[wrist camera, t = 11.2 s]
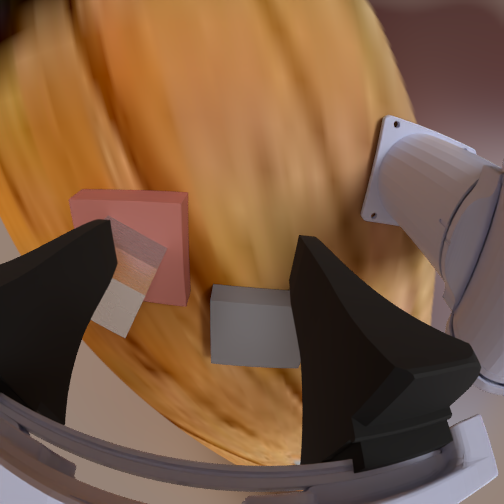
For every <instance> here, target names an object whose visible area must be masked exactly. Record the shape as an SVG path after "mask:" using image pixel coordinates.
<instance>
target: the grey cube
mask: <svg viewBox="0 0 504 504" xmlns="http://www.w3.org/2000/svg"><path fill="white" fill-rule="evenodd" d="M104 220H110V222H111V229H112V235H113V240H114V246H115V251H116V256H117V261H118V264H117V267H116V270H115V272H114V275H113V277H112V280H111V282H110V284H109V286H108V288H107V290H106V292H105V294H104V295H103V297H102V299H101V301H100V303H99V305H98V306H97V308H96V310H95V312H94V314H93V316H92V318H91V320H92V321H94V322H96V323H97V324H99V325H101V326H103V327H105V328H107V329H108V330H110V331H112V332H114V333H116V334H118V335H120V336H122V337H124V338H126V336H127V334H128V331H129V329H130V327H131V325H132V323H133V321H134V319H135V316H136V314H137V312H138V310H139V308H140V306H141V304H142V302H143V300H144V298H145V296H146V293H147V291H148V289H149V287H150V284H151V282H152V280H153V278H154V276H155V274H156V271H157V269H158V267H159V265H160V263H161V261H162V259H163V257H164V254H165V252H166V250H167V248H166V247H164V246H162V245H160V244H159V243H157V242H155V241H153V240H151V239H150V238H148V237H146V236H144V235H142V234H140V233H139V232H137V231H135V230H133V229H132V228H130V227H128V226H126V225H124V224H123V223H121V222H119V221H117V220H116V219H114V218H112V217H110V216H109V215H108V216H107V217H106V218H105V219H104Z"/></svg>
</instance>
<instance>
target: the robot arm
mask: <svg viewBox="0 0 504 504" xmlns="http://www.w3.org/2000/svg"><path fill="white" fill-rule="evenodd" d="M395 121H397V123H398V125H397V127H394V122H395ZM373 213H375V216H373V217H371V215H372V214H373ZM361 217H362V218H363V219H364V220H365V221H370V222H377V223H383V224H390V225H396V226H400V227H401V228H402V229H403V230H404V231H405V232H406V234H407V235H408V236H409V237H410V238H411V239H412V241H413V242H414V243H415V244H416V246H417V247H418V248H419V249H420V250H421V252H422V253H423V254H424V255H425V257H426V258H427V259H428V260H429V262H430V263H431V264H432V266H433V267H434V268H435V270H436V271H437V272H438V274H439V275H440V276H441V278H442V279H443V280H444V282H445V291H444V294H443V298H444V300H445V301H446V303H447V305H448V306H449V308H450V309H451V311H452V313H451V315H450V317H449V319H448V321H447V324H446V331H445V333H443V332H441V331H439V330H437V329H435V328H433V327H431V326H429V325H427V324H426V323H424V322H422V321H420V320H418V319H417V318H415V317H413V316H411V315H410V314H408V313H407V312H405V311H403V310H402V309H400V308H399V307H397V306H395V305H394V304H393V303H391V302H390V301H388V300H387V299H385V298H384V297H383V296H381V295H380V294H379V293H377V292H376V291H375V290H373V289H372V288H371V287H370V286H368V285H367V284H366V283H365V282H364V281H362V280H361V279H360V278H359V277H358V276H357V275H356V274H354V273H353V272H352V271H351V270H350V269H349V268H348V267H347V266H346V265H345V264H344V263H343V262H341V261H340V260H339V259H338V258H337V257H336V256H335V255H334V254H333V253H332V252H331V251H330V250H329V249H328V248H327V247H326V246H325V245H324V244H323V243H322V242H321V241H320V240H319V239H317V238H316V237H312V236H302V235H299V238H298V243H297V247H296V252H295V257H294V261H293V266H292V270H291V275H290V279H289V284H290V302H291V308H292V313H293V319H294V324H295V330H296V335H297V340H298V346H299V351H300V359H301V373H302V403H303V417H302V448H301V463H300V465H289V466H243V465H226V464H213V463H204V462H197V461H190V460H183V459H176V458H171V457H166V456H161V455H156V454H151V453H147V452H142V451H139V450H135V449H131V448H127V447H124V446H120V445H117V444H113V443H110V442H107V441H104V440H101V439H98V438H95V437H92V436H89V435H87V434H84V433H81V432H79V431H76V430H74V429H71V428H69V427H66V426H64V425H65V416H66V415H65V414H66V405H67V396H68V390H69V385H70V379H71V374H72V370H73V366H74V362H75V359H76V355H77V352H78V349H79V346H80V343H81V340H82V337H83V334H84V332H85V330H86V328H87V325H88V323H89V322H90V320H91V318H92V316H93V314H94V312H95V310H96V308H97V306H98V305H99V303H100V301H101V299H102V297H103V295H104V294H105V292H106V290H107V288H108V286H109V284H110V282H111V280H112V277H113V275H114V272H115V270H116V267H117V264H118V261H117V256H116V251H115V246H114V240H113V235H112V229H111V222H110V220H104V219H96V220H93V221H90V222H88V223H86V224H83V225H81V226H79V227H77V228H75V229H73V230H71V231H69V232H67V233H65V234H63V235H62V236H60V237H58V238H56V239H54V240H52V241H50V242H48V243H46V244H44V245H42V246H40V247H39V248H37V249H35V250H33V251H31V252H29V253H26V254H24V255H22V256H20V257H18V258H16V259H13V260H11V261H9V262H6V263H3V264H0V504H147V503H143V502H139V501H136V500H132V499H128V498H125V497H122V496H119V495H115V494H113V493H110V492H107V491H104V490H101V489H99V488H96V487H93V486H91V485H88V484H86V483H83V482H81V481H79V480H77V479H75V477H74V474H75V470H76V465H75V464H74V463H72V462H70V461H68V460H66V459H65V458H63V457H61V456H59V455H58V454H56V453H54V452H53V451H51V450H50V449H48V448H47V447H46V446H44V445H43V444H42V443H40V442H38V441H37V440H35V439H33V438H32V437H30V434H29V432H30V433H32V434H34V435H35V436H37V437H39V438H41V439H43V440H45V441H47V442H49V443H51V444H53V445H55V446H57V447H59V448H61V449H63V450H65V451H68V452H70V453H72V454H75V455H77V456H79V457H82V458H84V459H87V460H90V461H92V462H95V463H97V464H100V465H103V466H106V467H109V468H113V469H115V470H119V471H122V472H125V473H129V474H132V475H136V476H140V477H144V478H148V479H152V480H156V481H162V482H166V483H171V484H177V485H183V486H190V487H196V488H204V489H215V490H226V491H246V492H249V491H250V492H273V491H274V492H275V491H295V490H303V491H302V492H295V493H285V494H276V495H260V496H248V497H247V498H245V501H243V502H242V504H458V503H460V502H461V501H463V500H464V499H466V498H467V497H469V496H470V495H471V494H473V493H474V492H476V491H477V490H479V489H480V488H481V487H483V486H484V485H486V484H487V483H488V482H490V481H491V480H493V479H494V478H495V477H497V475H498V470H497V466H496V462H495V458H494V454H493V451H492V447H491V444H490V441H489V437H488V434H487V431H486V428H485V425H484V422H483V420H482V417H481V414H477V415H475V416H473V417H470V418H468V419H465V420H463V421H460V422H458V423H456V424H455V425H453V426H451V427H449V426H448V422H447V419H449V418H451V416H452V413H451V410H450V407H449V406H450V405H451V404H452V403H454V402H455V401H456V400H457V399H458V398H459V397H460V396H461V395H462V394H464V392H466V390H468V389H469V387H471V385H474V386H475V387H477V388H479V389H480V390H482V391H485V392H488V393H492V394H497V395H502V396H504V160H503V165H502V168H501V167H499V166H497V165H495V164H494V163H492V162H490V161H488V160H486V159H484V158H482V157H480V156H478V155H476V151H475V150H474V149H473V148H471V147H469V146H467V145H464V144H462V143H460V142H458V141H456V140H454V139H452V138H449V137H447V136H445V135H442V134H440V133H438V132H435V131H433V130H430V129H428V128H425V127H423V126H420V125H417V124H415V123H412V122H409V121H406V120H403V119H400V118H397V117H394V116H391V115H386V116H384V117H383V120H382V125H381V130H380V135H379V140H378V145H377V150H376V154H375V159H374V163H373V167H372V172H371V176H370V180H369V184H368V188H367V192H366V195H365V199H364V203H363V206H362V210H361Z"/></svg>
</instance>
